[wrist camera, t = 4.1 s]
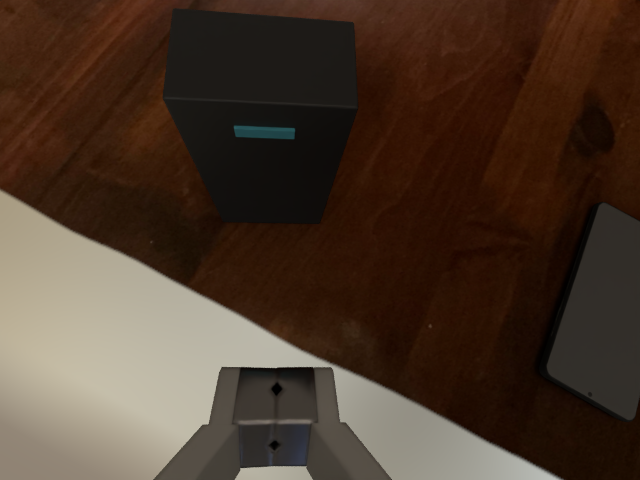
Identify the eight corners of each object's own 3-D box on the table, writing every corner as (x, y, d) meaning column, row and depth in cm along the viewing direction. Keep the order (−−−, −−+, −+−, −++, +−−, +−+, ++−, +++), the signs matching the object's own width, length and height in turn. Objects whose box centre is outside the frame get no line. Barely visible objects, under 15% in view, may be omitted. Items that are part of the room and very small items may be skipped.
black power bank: (319, 226, 27) (358, 111, 13) (222, 224, 26) (161, 101, 13) (318, 172, 28) (354, 17, 14) (226, 169, 27) (172, 3, 14)
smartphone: (679, 240, 29) (634, 426, 24) (667, 243, 29) (622, 423, 25) (600, 197, 29) (542, 373, 24) (590, 202, 30) (533, 372, 25)
